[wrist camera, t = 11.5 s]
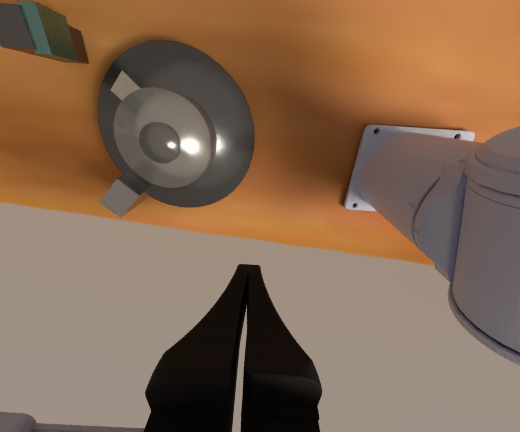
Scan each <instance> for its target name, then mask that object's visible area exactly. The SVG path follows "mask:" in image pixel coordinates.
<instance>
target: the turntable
mask: <svg viewBox="0 0 520 432" xmlns="http://www.w3.org/2000/svg"><path fill="white" fill-rule="evenodd" d="M151 87H154V88H161V89H166V90H171V91H175V92H179V93H182V94H185V95H187V96H189V97H190V98H192V99H193V100H195V101H196V102H197V103H199V104H200V105H201V106H202V107H203V109H204V110H205V111H206V112H207V114H208V115H209V117H210V119H211V121H212V123H213V125H214V128H215V132H216V138H217V148H216V153H215V157H214V159H213V161H212V163H211V164H210V166H209V167H208V168H207V169H206V170H205V171H204V172H203V173H202V174H201V175H200V176H199V177H198V178H197V179H196V180H195V181H193V182H192V183H190V184H188V185H185V186H182V187H176V188H168V187H162V186H158V185H155V184H152V183H150V182H148V181H146V180H145V179H143V178H141V177H140V176H139V175H137V174H136V173H135V172H134V171H133V170H132V169H131V168H130V167H129V166H128V164H127V163H126V162H125V160H124V159H123V157H122V155H121V154H120V152H119V149H118V147H117V144H116V141H115V137H114V128H113V127H114V118H115V113H116V111H117V108H118V106H119V105H120V103H121V102H122V100H123V99H124V98H125V97H126V96H127V95H129V94H130V93H132V92H134V91H136V90H139V89H142V88H151ZM98 119H99V126H100V130H101V134H102V137H103V140H104V143H105V146H106V148H107V150H108V152H109V154H110V156H111V158H112V159H113V161H114V162H115V164H116V166H117V167H118V168H119V169H120V171H121V172H122V173H123V174H124V175H123V176H121V177H119V178H117V179H116V180H115V182H114V183H113V184H112V186H111V187H110V189H109V190H108V191H107V193H106V194H105V195H104V197H103V198H102V199H101V201H100V203H101V204H102V205H104V206H105V207H107V208H108V209H109V210H111V211H112V212H114V213H115V214H116V215H118V216H119V217H122V216H124V215H125V214H126V213H128V212H129V211H130V210H132V209H133V208H134V207H136V206H137V205H139V204H140V203H141V202H143V201H144V199H145V198H146V197H147V196H148V195H149V196H151V197H152V198H154V199H157V200H159V201H161V202H164V203H167V204H170V205H174V206H179V207H200V206H206V205H209V204H213V203H215V202H217V201H219V200H221V199H223V198H224V197H226V196H228V195H229V194H230V193H231V192H232V191H234V189H235V188H236V187H237V186H238V185H239V184H240V182H241V181H242V180H243V178H244V176H245V174H246V172H247V170H248V168H249V165H250V162H251V159H252V155H253V150H254V126H253V120H252V116H251V113H250V109H249V106H248V104H247V102H246V99H245V97H244V95H243V93H242V92H241V90H240V88H239V86H238V85H237V84H236V82H235V81H234V80H233V78H232V77H231V76H230V75H229V74H228V73H227V72H226V71H225V70H224V68H223V67H222V66H221V65H220V64H218V63H217V62H216V61H215V60H213V59H212V58H211V57H209V56H208V55H206V54H205V53H203V52H201V51H200V50H198V49H195V48H193V47H191V46H188V45H185V44H182V43H178V42H173V41H150V42H146V43H142V44H139V45H137V46H135V47H132V48H130V49H129V50H127V51H126V52H124V53H123V54H121V55H120V56H119V57H118V58H117V59H116V60H115V61H114V62H113V64H112V65H111V67H110V68H109V70H108V71H107V73H106V75H105V77H104V79H103V82H102V85H101V88H100V92H99V99H98Z"/></svg>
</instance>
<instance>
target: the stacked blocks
mask: <svg viewBox="0 0 520 432" xmlns="http://www.w3.org/2000/svg"><path fill="white" fill-rule="evenodd" d="M17 2H18V4H19V5H17V4H2V3H0V45H1V47H4V48H8V49H12V50H16V51H20V52H25V53H29V54H33V55H37V56H41V57H45V58H49V59H53V60H57V61H62V62H70V63H85V64H89V62H88V58H87V54H86V50H85V46H84V42H83V39H82V35H81V31H79V30H76V29H74V28H72V27H69V26H68V24H67V20H66V17H65V16H64V15H62V14H60V13H58V12H55V11H53V10H51V9H49V8H47V7H45V6H43V5H41V4H39V3H36V2H31V1H17Z"/></svg>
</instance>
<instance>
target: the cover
mask: <svg viewBox="0 0 520 432" xmlns="http://www.w3.org/2000/svg"><path fill="white" fill-rule="evenodd" d="M113 128H114V137H115V141H116V144H117V147H118V149H119V152H120V154H121V155H122V157H123V159H124V160H125V162H126V163H127V164H128V166H129V167H130V168H131V169H132V170H133V171H134V172H135V173H136V174H137V175H139V176H140V177H141V178H143V179H145V180H146V181H148V182H150V183H152V184H155V185H158V186H162V187H168V188H176V187H182V186H185V185H188V184H190V183H192V182H193V181H195V180H196V179H197V178H198V177H199V176H200V175H201V174H202V173H203V172H204V171H205V170H206V169H207V168H208V167H209V166H210V164H211V163H212V161H213V159H214V157H215V153H216V148H217V138H216V132H215V128H214V125H213V123H212V121H211V119H210V117H209V115H208V114H207V112H206V111H205V110H204V109H203V107H202V106H201V105H200V104H199V103H197V102H196V101H195V100H193V99H192V98H190V97H189V96H187V95H185V94H182V93H179V92H175V91H171V90H166V89H161V88H154V87H151V88H142V89H139V90H136V91H134V92H132V93H130V94H129V95H127V96H126V97H125V98H124V99H123V100H122V102H121V103H120V105H119V106H118V108H117V111H116V113H115V118H114V127H113Z"/></svg>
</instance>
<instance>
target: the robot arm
mask: <svg viewBox="0 0 520 432" xmlns="http://www.w3.org/2000/svg"><path fill="white" fill-rule="evenodd" d="M376 128H377V129H378V132H377V133H376V134H374V130H375V129H376ZM456 134H457V137H456V138H455V139H454V137H455V135H456ZM474 137H475V133H474V132H472V131H462V130H447V129H432V128H417V127H402V126H387V125H372V124H371V125H367V126H366V127H365V129H364V131H363V135H362V139H361V142H360V146H359V150H358V154H357V157H356V161H355V165H354V168H353V172H352V176H351V180H350V183H349V187H348V191H347V195H346V198H345V202H344V206H345V208H346V209H349V210H364V211H377V212H379V213H380V214H381V215H382V216H383V217H384V218H385V219H386V220H387V221H389V222H390V223H391V224H392V225H393V226H394V227H395V228H396V229H398V230H399V231H400V232H401V233H402V234H403V235H404V236H405V237H406V238H408V239H409V240H410V241H411V242H412V243H413V244H414V245H415V246H416V247H418V248H419V249H420V250H421V251H422V252H423V253H424V254H425V255H427V256H428V257H429V258H430V259H431V260H432V261H434V263H435V268H436V270H437V271H439V273H441V274H442V275H443V276H444V277H445V278H446V279H447V280H448V281H449V282H451V283H450V286H449V291H448V301H449V305H450V308H451V310H452V312H453V314H454V315H455V317H456V318H457V320H458V321H459V322H460V323H461V325H462V326H463V327H464V328H465V329H466V330H467V331H468V332H469V333H470V334H471V335H472V336H473V337H475V338H476V339H477V340H478V341H480V342H481V343H482V344H484V345H485V346H486V347H488V348H489V349H491V350H492V351H494V352H496V353H497V354H499V355H501V356H502V357H504V358H506V359H508V360H510V361H511V362H513V363H515V364H517V365H520V127H517V128H513V129H510V130H507V131H504V132H502V133H500V134H497V135H495V136H494V137H492V138H490V139H489V140H487V141H486V142H484V143H480V142H473V139H474ZM354 203H356V205H355V206H352V205H353V204H354ZM246 306H247V338H246V349H245V361H244V377H243V379H244V380H243V398H242V411H241V432H320V429H319V423H318V420H319V413H318V408H317V406H318V403H319V400H320V398H321V395H322V387H321V383H320V380H319V377H318V374H317V371H316V369H315V366H314V364H313V361H312V360H311V359H310V357H309V356H308V355H307V354H306V353H305V352H304V350H303V349H302V348H301V347H300V345H299V344H298V343H297V342H296V340H295V339H294V338H293V336H292V335H291V334H290V332H289V330H288V329H287V328H286V326H285V325H284V323H283V321H282V320H281V318H280V317H279V315H278V313H277V311H276V309H275V307H274V305H273V303H272V301H271V299H270V297H269V295H268V292H267V289H266V287H265V284H264V281H263V278H262V274H261V269H260V266H259V265H247V264H239V265H238V267H237V269H236V272H235V274H234V276H233V277H232V279H231V281H230V283H229V284H228V286H227V288H226V290H225V291H224V292H223V294H222V295H221V297H220V298H219V299H218V301H217V302H216V303H215V305H214V306H213V307H212V308H211V309H210V311H209V312H208V313H207V314H206V315H205V317H203V319H202V320H201V321H200V322H199V323H198V324H197V325H196V326H195V327H194V328H193V329H192V330H190V331H189V332H188V333H187V334H186V335H185V336H184V337H183V338H182V339H181V340H179V341H178V342H177V343H176V344H175V345H173V346H172V347H171V348H170V349H169V350H167V351H166V352H165V353H164V354H163V356H162V358H161V359H160V361H159V363H158V365H157V366H156V368H155V370H154V372H153V374H152V376H151V379H150V381H149V384H148V386H147V389H146V391H145V395H146V398H147V401H148V403H149V406H150V408H151V413H150V416H149V419H148V422H147V424H146V427H145V429H144V428H124V427H103V426H81V425H61V424H41V423H36V420H35V419H34V418H33V417H32V416H30V415H28V414H23V413H8V412H0V432H232V424H233V412H234V400H235V390H236V379H237V367H238V357H239V347H240V340H241V334H242V328H243V323H244V317H245V312H246Z"/></svg>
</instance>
